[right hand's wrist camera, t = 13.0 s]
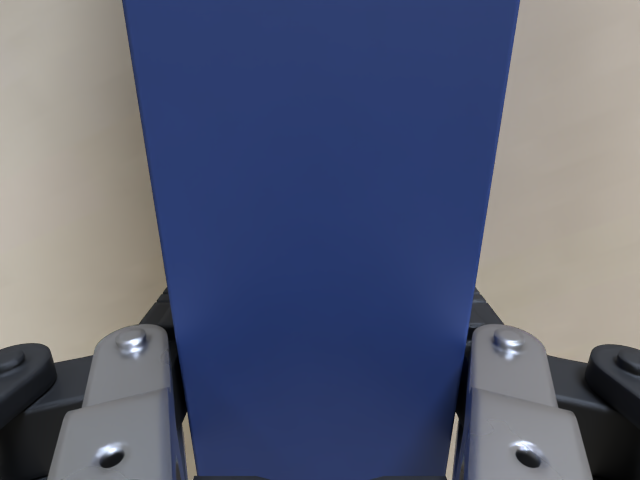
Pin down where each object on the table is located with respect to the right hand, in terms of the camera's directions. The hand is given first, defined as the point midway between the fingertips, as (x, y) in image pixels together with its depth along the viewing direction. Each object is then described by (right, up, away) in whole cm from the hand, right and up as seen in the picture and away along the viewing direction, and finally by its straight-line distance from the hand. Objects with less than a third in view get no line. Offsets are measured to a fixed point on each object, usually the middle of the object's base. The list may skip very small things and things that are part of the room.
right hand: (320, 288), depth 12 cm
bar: (0, +11, 0) cm, 11 cm away
